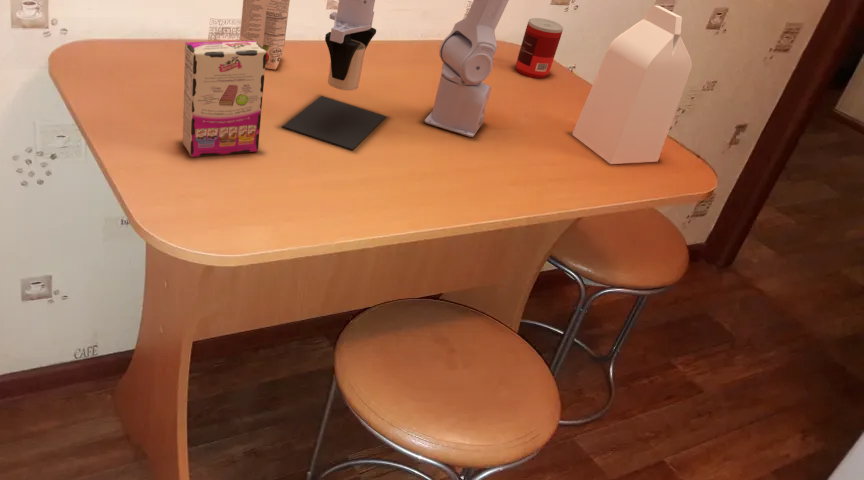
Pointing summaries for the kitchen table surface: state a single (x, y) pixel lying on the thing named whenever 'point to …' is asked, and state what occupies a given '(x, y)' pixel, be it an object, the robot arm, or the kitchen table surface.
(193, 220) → the kitchen table surface
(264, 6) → the juice carton
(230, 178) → the kitchen table surface
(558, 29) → the canned food
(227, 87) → the candy bar box
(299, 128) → the placemat
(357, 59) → the cream cup
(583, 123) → the milk
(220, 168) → the kitchen table surface
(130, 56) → the kitchen table surface
